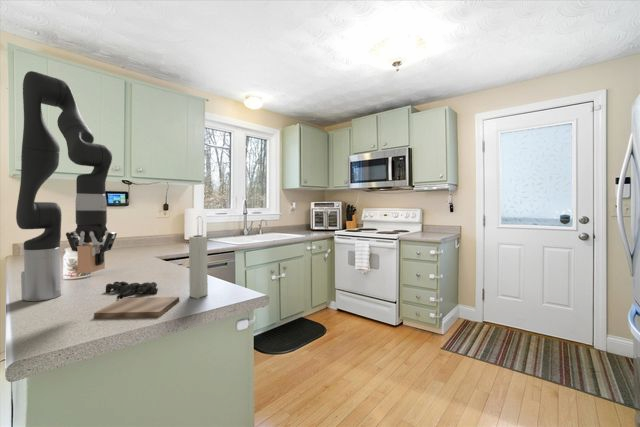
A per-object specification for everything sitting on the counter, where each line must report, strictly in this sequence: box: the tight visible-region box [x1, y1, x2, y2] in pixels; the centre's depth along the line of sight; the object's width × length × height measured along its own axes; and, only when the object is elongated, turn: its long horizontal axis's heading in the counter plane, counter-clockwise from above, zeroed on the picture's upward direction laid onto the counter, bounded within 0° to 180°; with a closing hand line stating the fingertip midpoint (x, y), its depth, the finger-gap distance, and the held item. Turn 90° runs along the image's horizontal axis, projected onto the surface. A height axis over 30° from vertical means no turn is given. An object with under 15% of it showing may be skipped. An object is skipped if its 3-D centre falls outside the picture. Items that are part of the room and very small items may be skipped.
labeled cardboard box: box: [76, 242, 106, 274], centre depth 91 cm, size 4×6×8 cm, turn 3°
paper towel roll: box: [188, 234, 209, 299], centre depth 106 cm, size 7×6×21 cm
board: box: [93, 296, 180, 319], centre depth 92 cm, size 18×14×2 cm
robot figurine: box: [105, 281, 159, 300], centre depth 111 cm, size 18×4×20 cm
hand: (91, 264), depth 91 cm, fingers closed on labeled cardboard box, 3 cm apart
